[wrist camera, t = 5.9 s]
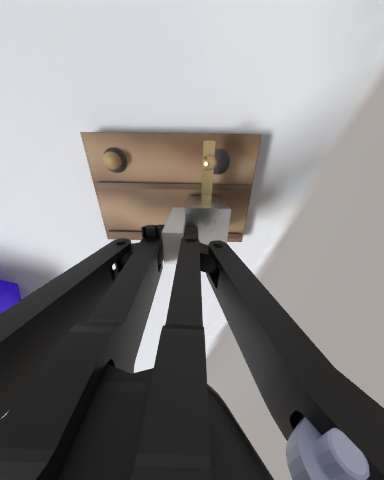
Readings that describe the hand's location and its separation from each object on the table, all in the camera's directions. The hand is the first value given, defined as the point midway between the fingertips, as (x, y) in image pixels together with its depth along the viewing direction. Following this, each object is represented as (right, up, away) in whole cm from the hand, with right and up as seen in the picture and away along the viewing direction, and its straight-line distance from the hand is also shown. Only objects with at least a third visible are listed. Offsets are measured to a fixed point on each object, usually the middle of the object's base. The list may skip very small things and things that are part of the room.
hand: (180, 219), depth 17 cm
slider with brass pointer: (+3, +3, 0) cm, 4 cm away
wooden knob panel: (-1, +4, +2) cm, 5 cm away
